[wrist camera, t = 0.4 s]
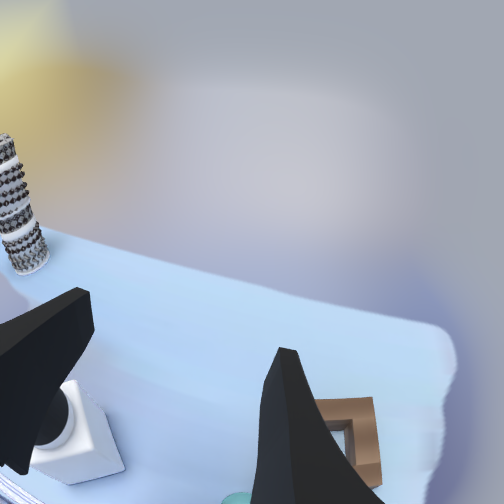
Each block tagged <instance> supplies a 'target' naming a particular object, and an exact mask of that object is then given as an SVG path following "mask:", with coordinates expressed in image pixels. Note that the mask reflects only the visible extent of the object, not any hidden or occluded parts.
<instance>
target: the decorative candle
mask: <svg viewBox="0 0 504 504" xmlns="http://www.w3.org/2000/svg"><path fill="white" fill-rule="evenodd" d="M13 139H14V138H11V137H9V135H8V134H6V133H4V134H1V135H0V234H1V237H2V240H3V241H2V244H3V245H4V246H5V247H6V248H5V251H6V252H7V253H8V254H9V256H8V257H9V260H10V261H11V262H12V266H13V267H14V269H15V271H16V273H17V274H18V275H20V276H26V275H30V274H32V273H35V272H36V271H38V270H39V269H41V268H42V267H43V266H44V265H45V264H46V263H47V261H48V260H49V258H50V253H49V251H48V249H47V248H46V247H47V245H46V244H45V241H44V240H45V239H44V238H43V237H42V235H41V230H40V229H39V223H38V222H37V221H36V219H35V216H34V214H33V213H32V210H31V207H30V204H29V203H30V200H31V199H30V197H29V196H28V194H29V191H28V190H25V187H26V186H27V183H26V182H22V179H21V177H22V178H23V176H24V175H25V173H24V172H22V171H21V172H20V171H19V169H20V170H21V168H22V167H23V164H21V163H19V164H18V162H19V160H18V156H17V154H16V152H15V147H14V142H13ZM41 239H42V240H41Z"/></svg>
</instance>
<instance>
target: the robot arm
mask: <svg viewBox="0 0 504 504" xmlns="http://www.w3.org/2000/svg"><path fill="white" fill-rule="evenodd" d="M94 331H95V330H94V323H93V316H92V309H91V301H90V292H89V291H86V290H84V289H81V288H78V287H76V288H74V289H71V290H69V291H67V292H65V293H63V294H61V295H59V296H58V297H56V298H54V299H52V300H50V301H48V302H46V303H44V304H42V305H40V306H38V307H36V308H34V309H33V310H31V311H28V312H26V313H24V314H22V315H20V316H18V317H16V318H14V319H12V320H10V321H7V322H5V323H3V324H0V466H1V467H3V466H4V464H6V465H7V466H8V467H10V468H11V469H13V470H14V471H15V472H17V473H18V474H19V475H26V474H28V470H29V465H30V461H31V457H32V452H33V449H34V446H35V442H36V439H37V436H38V433H39V430H40V428H41V425H42V423H43V420H44V418H45V415H46V413H47V411H48V409H49V406H50V404H51V402H52V400H53V398H54V396H55V395H56V393H57V391H58V389H59V388H60V386H61V385H62V383H63V382H64V380H65V379H66V377H67V376H68V374H69V373H70V371H71V370H72V369H73V367H74V366H75V364H76V363H77V361H78V360H79V358H80V357H81V355H82V354H83V352H84V351H85V349H86V347H87V345H88V343H89V341H90V339H91V337H92V335H93V333H94ZM0 490H1V491H2V492H3V493H5V494H6V495H7V496H9V497H10V498H11V499H13V500H14V501H15V502H17V503H18V504H45V503H43V502H42V501H40V500H38V499H37V498H35V497H34V496H32V495H31V494H29V493H28V492H26V491H25V490H23V489H22V488H20V487H19V486H18V485H16V484H15V483H14V482H12V481H11V480H10V479H8V478H7V477H6V476H4V475H3V474H2V473H0ZM0 504H14V503H13V502H11V501H9V500H8V499H6V498H5V497H3V496H2V495H0ZM250 504H385V503H384V502H383V501H382V500H380V499H379V498H378V497H377V496H376V494H375V493H374V492H373V491H372V490H371V489H370V488H369V487H368V486H367V485H366V483H365V482H364V481H363V480H362V478H361V477H360V476H359V475H358V473H357V472H356V471H355V469H354V468H353V467H352V466H351V464H350V463H349V462H348V460H347V459H346V457H345V456H344V454H343V453H342V451H341V450H340V448H339V446H338V445H337V443H336V441H335V440H334V438H333V436H332V434H331V433H330V431H329V429H328V427H327V425H326V423H325V421H324V419H323V417H322V415H321V413H320V411H319V409H318V406H317V404H316V402H315V399H314V397H313V395H312V392H311V390H310V387H309V385H308V382H307V379H306V376H305V374H304V371H303V368H302V365H301V362H300V359H299V355H298V353H297V351H296V350H291V349H286V348H282V347H279V349H278V351H277V353H276V356H275V358H274V360H273V363H272V365H271V367H270V370H269V372H268V374H267V377H266V379H265V381H264V386H263V392H262V398H261V404H260V418H259V439H258V459H257V468H256V474H255V480H254V486H253V491H252V496H251V501H250Z"/></svg>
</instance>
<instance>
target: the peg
mask: <svg viewBox="0 0 504 504" xmlns="http://www.w3.org/2000/svg"><path fill="white" fill-rule="evenodd" d="M251 496H252V494H249V493H243V492H241V493H234V494H232V495H229V496H228V497H226V498H225V499H224V500H223V501H222V503H221V504H250V501H251Z"/></svg>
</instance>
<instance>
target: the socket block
mask: <svg viewBox="0 0 504 504" xmlns="http://www.w3.org/2000/svg"><path fill="white" fill-rule="evenodd" d="M315 402H316V404H317V406H318V409H319V411H320V413H321V415H322V417H323V419H324V421H325V423H326V425H327V427H328V429H329V431H340V430H344V437H345V453H346V459H347V460H348V462H349V463H350V464H351V466H352V467H353V468H354V469H355V471H356V472H357V473H358V475H359V476H360V477H361V478H362V480H363V481H364V482H365V483H366V485H367V486H368V487H369V488H370V489H374V488H376V487H378V486H380V485H382V472H381V461H380V451H379V442H378V434H377V426H376V419H375V412H374V405H373V398H372V397H364V398H347V399H315Z"/></svg>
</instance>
